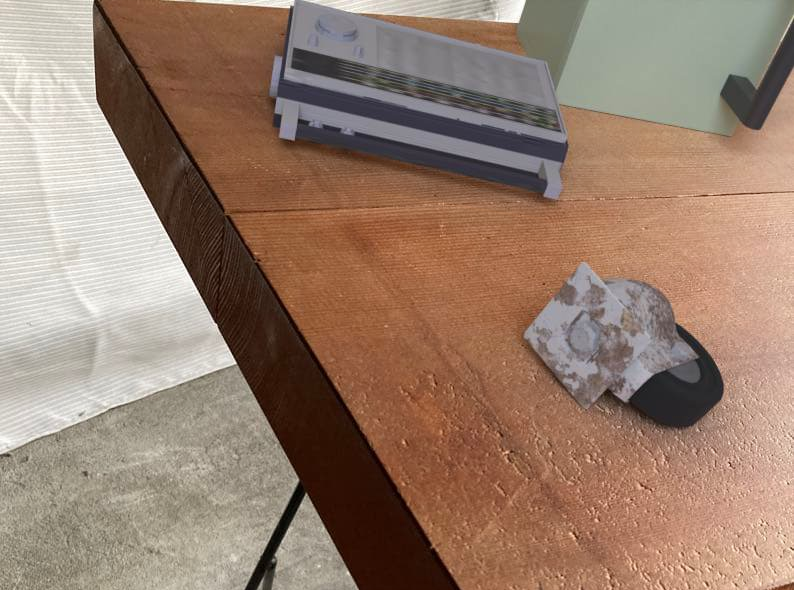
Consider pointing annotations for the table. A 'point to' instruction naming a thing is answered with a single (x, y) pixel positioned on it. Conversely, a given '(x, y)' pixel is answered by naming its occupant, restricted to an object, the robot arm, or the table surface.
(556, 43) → the cabinet
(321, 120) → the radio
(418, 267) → the table surface
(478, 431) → the table surface
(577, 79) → the cabinet door
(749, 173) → the table surface
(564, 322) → the camo patterned piece
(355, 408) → the table surface
